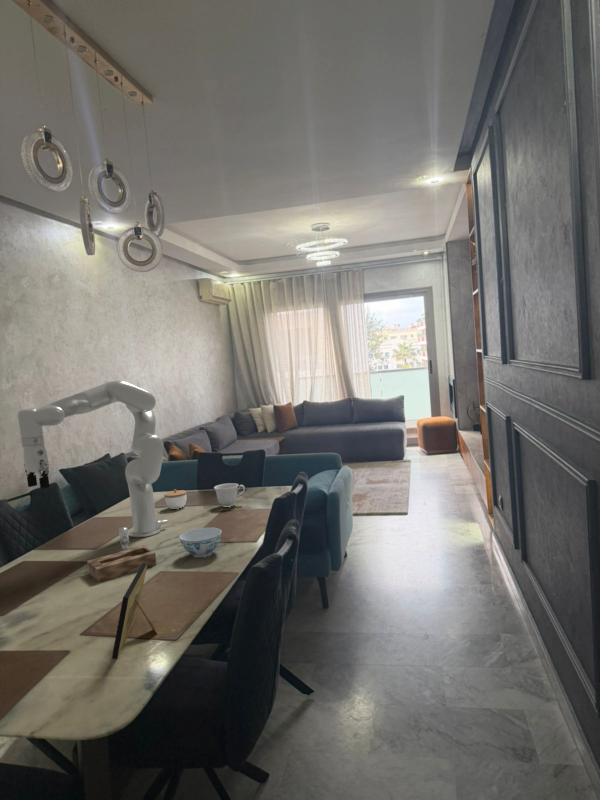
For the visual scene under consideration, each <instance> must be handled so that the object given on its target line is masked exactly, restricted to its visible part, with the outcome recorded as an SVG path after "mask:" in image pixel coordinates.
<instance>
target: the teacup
mask: <svg viewBox="0 0 600 800" xmlns="http://www.w3.org/2000/svg"><path fill="white" fill-rule="evenodd" d="M241 488H242V489H243V490H242V491H241V492H239V493H238V491H239V490H240V489H241ZM213 489H214V490H215V493H216V497H217V501H218V504H219V505H220V504H221V505H222V506H231V505H233V504H234V505H235V503H236V502H237V500H238V498H239V496H241V495H243V494H244V493H245V491H246V488H245V485H243V484H240V485H239V483H236V482H235V483H234V482H233V483H232V482H231V483H230V482H228V483H221V484H217V485H215V486H214V487H213Z"/></svg>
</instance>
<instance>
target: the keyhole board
mask: <svg viewBox="0 0 600 800" xmlns="http://www.w3.org/2000/svg"><path fill="white" fill-rule="evenodd" d="M128 549H129V550H125V551H122V550H121V552H120V551H118V552H115V553H112V554H108V555H103V556H100V557H96V558H94V559H90V560H86V563H87V572H88V574H89V575H90V576H91V577H92V578H94V580H95V581H97V582H98V583H100V582H103V581H107V580H111V579H113V578H117V577H120V576H124V575H126V574H131V573H134V572H138V570H139V569H140V567H141V565H142V564H143V563H147V568H151V567H153V565H154V566H156V564H157V558H156V552H155V551H153V550H151V549H149V548H148V547H146V546H144V545H139V546H136V547H133V548H128ZM150 566H151V567H150Z"/></svg>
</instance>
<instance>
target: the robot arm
mask: <svg viewBox="0 0 600 800" xmlns="http://www.w3.org/2000/svg"><path fill="white" fill-rule="evenodd" d="M119 402H120V403H122V404H124V405H125V407H126V408H127V409H128V410H129V411H130V412H131V414H132V415H133V418H134V429H133V430H134V431H133V436H132V442H131V450H132V452H133V454H135V456H138V457H140V458H136V459H132V460H130V461H129V462H128V463H127V465H126V466H125V469H124V471H125V472H124V476H125V480H126V482H127V487H128V491H129V492H128V493H129V501H130V502H129V503H130V508H131V519H132V526H133V530H131V531H130V532H129V535H130V537H132V538H145V537H146V538H147V537H151V536H155V535H156V534H159V533H160V532H161V530H162V529H161V526H164V525H167V524H168V520H167V519H163V520H162V519H159V520H157V518H156V508H155V498H154V490H153V489H154V488H153V483H155V482H156V481H158V479H159V477H160V475H161V470H162V466H163V465H162V464H163V457H164V450H165V449H164V447H165V446H164V442H163V440H162V439H161V438H160V436H159V435H156V426H157V425H156V421H157V420H156V415H155V413H154V411H153V409H154V408H155V406H156V397H155V396H154V395H153V394H152V393H151V392H150V391H147V390H146V389H143V388H141V387H138V386H136V385H134V384H132V383H129V382H127V381H123V380H113V381H109V382H105V383H103V384H101V385H98V386H95V387H94V386H93V387H92V388H88V389H87V390H83V391H81V392H78V393H74V394H73V395H70V396H67V397H64V398H61V399H58V400H56V401H52V402H50V403H47V404H45V405H43V406H41V407H39V408H37V407H35V408H25V409H21V410H19V411H18V413H17V418H18V426H19V434H20V440H21V441H20V442H21V448H23V462H24V463H23V467H24V469H25V470H24V471H25V476H26V479H27V486H28V487H29V488H31V487H35V486H36V487H37V485H38V480H37V475H38V476H39V478H38V479H39V486H40V487H39V489H41V490H43V489H49V488H50V479H49V476H50V475H49V472H50V471H49V470H50V463H49V458H48V454H47V450H46V446H45V440H44V432H43V431H44V430H43V427H47V426H50V427H52V426H53V427H54V426H58V425H60V424H61V423H62V422H63V421H64V420H65V419H66V418H69V417H72V416H75V415H83V414H84V415H85V414H88V413H91V412H93V411H96V410H99V409H101V408H103V407H105V406H109V405H111V404H114V403H119Z"/></svg>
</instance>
